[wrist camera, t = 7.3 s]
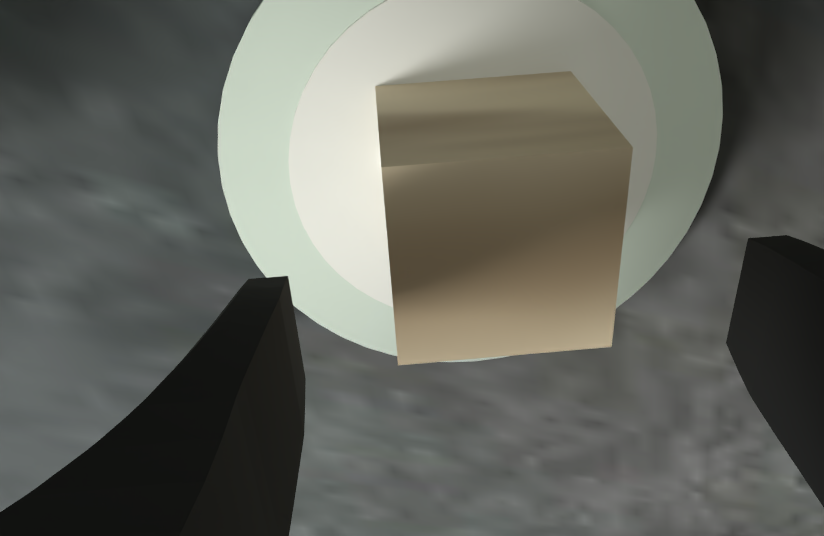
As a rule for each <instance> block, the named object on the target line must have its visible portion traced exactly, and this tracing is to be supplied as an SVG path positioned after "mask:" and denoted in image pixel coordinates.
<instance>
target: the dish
mask: <svg viewBox="0 0 824 536" xmlns="http://www.w3.org/2000/svg"><path fill="white" fill-rule="evenodd" d="M566 71H571V72H572V73H573V74H574V76H575V77H576V78H577V79H578V81H579V82H580V83H581V84H582V85H583V87H584V88H585V89H586V90H587V92H588V93H589V94H590V95H591V96H592V98H593V99H594V100H595V101H596V103H597V104H598V105H599V106H600V107H601V109H602V110H603V111H604V112H605V114H606V115H607V116H608V117H609V119H610V120H611V121H612V122H613V123H614V125H615V126H616V127H617V128H618V130H619V131H620V132H621V133H622V134H623V136H624V137H625V138H626V139H627V141H628V142H629V143H630V144H631V145H632V147H633V152H632V162H631V171H630V180H629V189H628V198H627V208H626V217H625V226H624V235H623V245H622V254H621V263H620V272H619V281H618V291H617V300H616V308H617V307H618V306H619V305H621V304H622V303H623V302H625V301H626V300H627V299H629V298H630V297H631V296H632V295H633V294H634V293H636V292H637V291H638V290H639V289H640V288H641V287H642V286H643V285H644V284H645V283H646V282H647V281H648V280H650V279H651V278H652V277H653V275H654V274H655V273H656V272H657V271H658V270H659V268H660V267H661V266H662V265H663V264H664V263H665V262H666V260H667V259H668V258H669V257H670V256H671V254H672V253H673V252H674V250H675V249H676V247H677V246H678V244H679V243H680V241H681V240H682V238H683V237H684V236H685V234H686V233H687V231H688V229H689V227H690V226H691V224H692V222H693V220H694V218H695V216H696V214H697V212H698V210H699V209H700V207H701V205H702V202H703V200H704V197H705V194H706V192H707V189H708V187H709V184H710V181H711V179H712V176H713V172H714V168H715V163H716V159H717V155H718V151H719V147H720V138H721V129H722V119H723V105H722V83H721V77H720V71H719V66H718V60H717V55H716V51H715V48H714V45H713V42H712V39H711V36H710V33H709V30H708V27H707V24H706V22H705V20H704V18H703V16H702V14H701V12H700V10H699V8H698V6H697V4H696V3H695V1H694V0H262V1H261V3H260V4H259V6H258V7H257V9H256V11H255V12H254V14H253V16H252V18H251V20H250V22H249V24H248V26H247V28H246V30H245V33H244V35H243V37H242V39H241V41H240V43H239V45H238V48H237V50H236V52H235V54H234V56H233V59H232V62H231V65H230V69H229V72H228V75H227V79H226V82H225V85H224V89H223V94H222V100H221V107H220V113H219V120H218V160H219V167H220V174H221V182H222V187H223V191H224V194H225V198H226V201H227V205H228V208H229V212H230V215H231V217H232V220H233V222H234V224H235V226H236V229H237V231H238V233H239V235H240V238H241V240H242V242H243V244H244V245H245V247H246V248H247V250H248V252H249V253H250V255H251V257H252V258H253V260H254V261H255V263H256V265H257V266H258V267H259V269H260V270H261V271H262V272H263V274H264V275H265V276H266V277H267V278H268V277H280V276H288V279H289V285H290V291H291V297H292V302H293V305H294V306H295V307H296V308H297V309H299V310H300V311H302V312H303V313H304V314H306V315H307V316H308V317H310V318H311V319H312V320H314V321H315V322H316V323H318V324H320V325H321V326H323V327H325V328H327V329H329V330H330V331H332V332H334V333H336V334H337V335H339V336H341V337H343V338H345V339H348V340H350V341H353V342H355V343H357V344H360V345H362V346H364V347H367V348H370V349H374V350H377V351H380V352H384V353H387V354H391V355H395V356H397V346H396V334H395V322H394V311H393V299H392V287H391V276H390V264H389V252H388V240H387V229H386V217H385V205H384V194H383V182H382V170H381V157H380V144H379V131H378V118H377V105H376V92H375V86H382V85H396V84H409V83H422V82H435V81H448V80H461V79H474V78H487V77H500V76H514V75H527V74H540V73H553V72H566ZM502 357H507V356H499V357H487V358H476V359H464V360H453V361H441V362H464V361H480V360H487V359H495V358H502Z"/></svg>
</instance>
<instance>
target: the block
mask: <svg viewBox="0 0 824 536" xmlns="http://www.w3.org/2000/svg"><path fill="white" fill-rule="evenodd" d="M375 92H376V105H377V118H378V131H379V144H380V157H381V170H382V182H383V194H384V205H385V217H386V229H387V240H388V252H389V264H390V276H391V287H392V299H393V311H394V322H395V334H396V346H397V358H398V365H407V364H418V363H430V362H441V361H453V360H464V359H476V358H487V357H499V356H511V355H522V354H534V353H545V352H557V351H568V350H580V349H591V348H603V347H611V346H612V337H613V328H614V318H615V309H616V300H617V291H618V281H619V272H620V263H621V254H622V245H623V235H624V226H625V217H626V208H627V198H628V189H629V180H630V171H631V162H632V152H633V147H632V145H631V144H630V143H629V142H628V141H627V139H626V138H625V137H624V136H623V134H622V133H621V132H620V131H619V130H618V128H617V127H616V126H615V125H614V123H613V122H612V121H611V120H610V119H609V117H608V116H607V115H606V114H605V112H604V111H603V110H602V109H601V107H600V106H599V105H598V104H597V103H596V101H595V100H594V99H593V98H592V96H591V95H590V94H589V93H588V92H587V90H586V89H585V88H584V87H583V85H582V84H581V83H580V82H579V81H578V79H577V78H576V77H575V76H574V74H573V73H572V72H571V71H566V72H553V73H540V74H527V75H514V76H500V77H487V78H474V79H461V80H448V81H435V82H422V83H409V84H396V85H382V86H375Z"/></svg>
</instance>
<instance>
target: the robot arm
mask: <svg viewBox="0 0 824 536" xmlns="http://www.w3.org/2000/svg"><path fill="white" fill-rule="evenodd" d="M726 344H727V346H728V348H729V351H730V353H731V355H732V357H733V360H734V362H735V364H736V367H737V369H738V371H739V373H740V375H741V377H742V379H743V381H744V384H745V386H746V388H747V390H748V392H749V394H750V396H751V397H752V399H753V401H754V402H755V404H756V405H757V407H758V409H759V410H760V412H761V413H762V415H763V416H764V418H765V419H766V421H767V422H768V424H769V426H770V427H771V429H772V430H773V432H774V433H775V435H776V436H777V438H778V439H779V441H780V442H781V444H782V445H783V447H784V448H785V450H786V451H787V453H788V454H789V456H790V457H791V459H792V460H793V462H794V463H795V465H796V466H797V468H798V469H799V471H800V472H801V474H802V475H803V477H804V478H805V480H806V481H807V483H808V484H809V486H810V487H811V489H812V490H813V492H814V493H815V495H816V496H817V498H818V499H819V501H820V502H821V504H822V505H823V507H824V249H821V248H819V247H817V246H814V245H812V244H809V243H807V242H804V241H802V240H799V239H796V238H793V237H790V236H787V235H785V236H772V237H760V238H748V242H747V246H746V251H745V256H744V261H743V265H742V270H741V275H740V280H739V284H738V289H737V294H736V299H735V303H734V308H733V313H732V318H731V322H730V327H729V332H728V337H727V341H726ZM304 420H305V373H304V367H303V362H302V356H301V350H300V344H299V338H298V332H297V326H296V320H295V314H294V308H293V302H292V297H291V291H290V285H289V279H288V276H280V277H268V278H256V279H248V280H247V281H246V283H245V284H244V285H243V286H242V287H241V288H240V290H239V291H238V292H237V293H236V295H235V296H234V297H233V298H232V300H231V301H230V302H229V304H228V305H227V306H226V307H225V309H224V310H223V311H222V313H221V314H220V315H219V316H218V318H217V319H216V320H215V321H214V323H213V324H212V325H211V326H210V328H209V329H208V330H207V331H206V333H205V334H204V335H203V336H202V337H201V338H200V340H199V341H198V342H197V343H196V344H195V346H194V347H193V348H192V349H191V350H190V351H189V353H188V354H187V355H186V356H185V357H184V359H183V360H182V361H181V362H180V363H179V364H178V365H177V366H176V367H175V369H174V370H173V371H172V372H171V373H170V374H169V375H168V376H167V377H166V378H165V379H164V380H163V381H162V382H161V383H160V384H159V385H158V386H157V388H156V389H155V390H154V391H153V392H152V393H151V394H150V395H149V396H148V397H147V398H146V399H145V400H144V401H143V402H142V403H141V404H140V405H139V406H138V407H136V408H135V409H134V410H133V411H132V412H131V413H130V414H129V415H128V416H127V417H126V418H125V419H123V420H122V421H121V422H120V423H119V424H118V425H116V426H115V427H114V428H113V429H112V430H111V431H109V432H108V433H107V434H106V435H105V436H104V437H103V438H101V439H100V440H99V441H98V442H97V443H95V444H94V445H93V446H92V447H90V448H89V449H88V450H87V451H85V452H84V453H83V454H81V455H80V456H79V457H77V458H76V459H75V460H73V461H72V462H71V463H69V464H68V465H67V466H65V467H64V468H63V469H61V470H60V471H58V472H57V473H56V474H54V475H53V476H52V477H50V478H49V479H48V480H46V481H45V482H44V483H42V484H41V485H40V486H38V487H37V488H36V489H34V490H33V491H31V492H30V493H29V494H27V495H26V496H24V497H23V498H21V499H20V500H18V501H17V502H15V503H14V504H12V505H11V506H9V507H8V508H6V509H5V510H3V511H2V512H0V536H289V531H290V524H291V518H292V511H293V505H294V498H295V492H296V486H297V479H298V472H299V466H300V459H301V452H302V445H303V438H304Z"/></svg>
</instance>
